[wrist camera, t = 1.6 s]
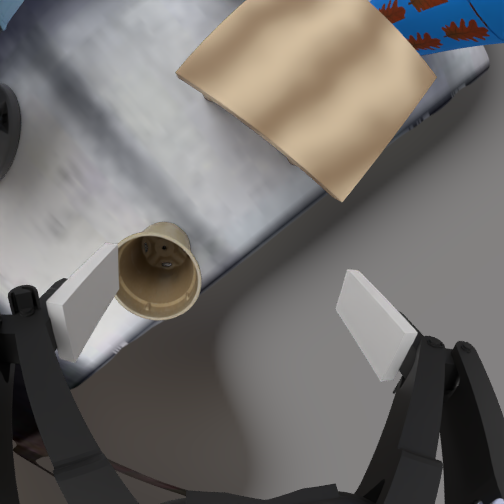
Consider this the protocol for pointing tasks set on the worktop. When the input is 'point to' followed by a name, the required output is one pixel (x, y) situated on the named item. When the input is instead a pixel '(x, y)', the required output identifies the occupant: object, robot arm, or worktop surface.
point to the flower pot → (157, 273)
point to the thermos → (445, 22)
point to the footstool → (313, 82)
